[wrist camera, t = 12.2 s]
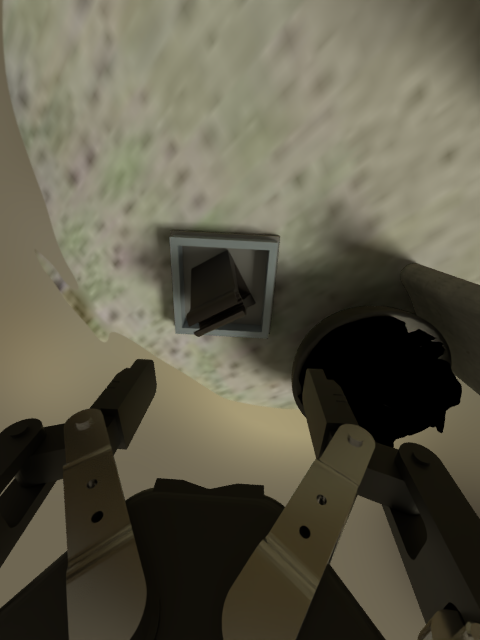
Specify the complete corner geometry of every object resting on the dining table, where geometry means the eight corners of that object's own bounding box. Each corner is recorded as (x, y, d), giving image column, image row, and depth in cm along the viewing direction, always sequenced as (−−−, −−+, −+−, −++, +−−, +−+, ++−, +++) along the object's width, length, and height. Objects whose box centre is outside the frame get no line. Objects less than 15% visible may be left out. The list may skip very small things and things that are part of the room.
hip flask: (397, 269, 37) (543, 333, 19) (426, 256, 36) (609, 308, 18) (422, 352, 42) (554, 463, 24) (448, 342, 42) (604, 450, 23)
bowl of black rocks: (386, 261, 36) (510, 312, 19) (419, 364, 43) (531, 469, 26) (262, 321, 41) (273, 405, 24) (310, 406, 48) (345, 518, 31)
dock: (279, 236, 35) (282, 238, 32) (269, 331, 42) (270, 341, 39) (172, 230, 35) (165, 232, 32) (177, 326, 42) (172, 336, 39)
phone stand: (191, 268, 37) (168, 294, 26) (228, 248, 35) (219, 268, 25) (221, 318, 40) (211, 361, 29) (255, 302, 39) (259, 341, 28)
